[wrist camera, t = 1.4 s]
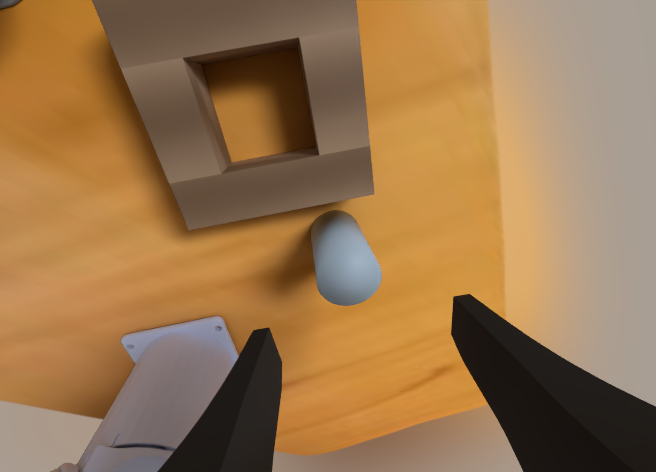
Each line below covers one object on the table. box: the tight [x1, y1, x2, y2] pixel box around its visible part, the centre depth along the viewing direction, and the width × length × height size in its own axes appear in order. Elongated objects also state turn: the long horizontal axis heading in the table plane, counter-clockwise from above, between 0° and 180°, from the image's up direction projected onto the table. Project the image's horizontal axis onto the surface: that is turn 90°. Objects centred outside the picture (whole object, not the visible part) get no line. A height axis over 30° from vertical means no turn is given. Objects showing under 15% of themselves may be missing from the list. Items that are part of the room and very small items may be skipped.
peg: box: [310, 210, 382, 306], centre depth 18 cm, size 4×4×6 cm
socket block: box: [92, 0, 374, 230], centre depth 16 cm, size 11×11×3 cm
